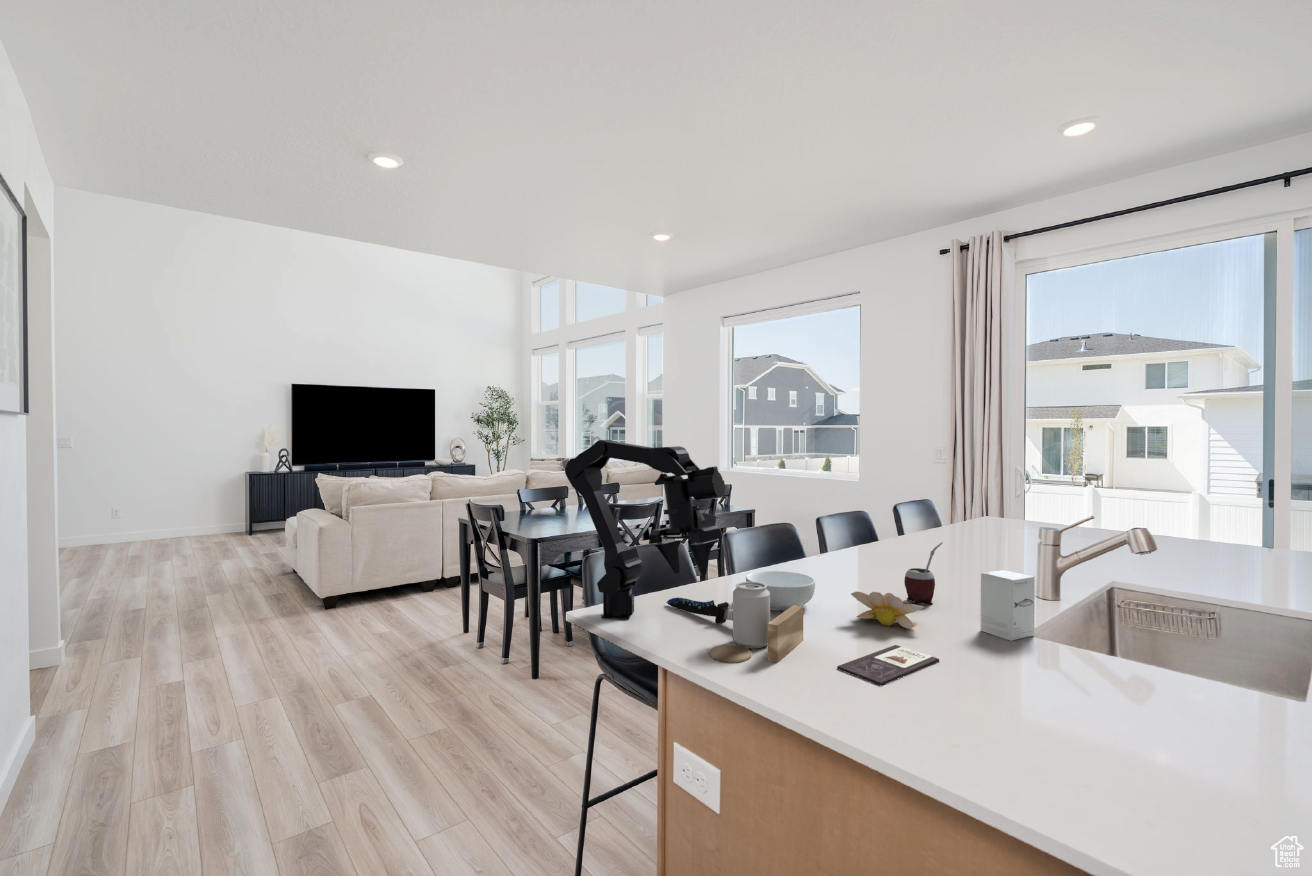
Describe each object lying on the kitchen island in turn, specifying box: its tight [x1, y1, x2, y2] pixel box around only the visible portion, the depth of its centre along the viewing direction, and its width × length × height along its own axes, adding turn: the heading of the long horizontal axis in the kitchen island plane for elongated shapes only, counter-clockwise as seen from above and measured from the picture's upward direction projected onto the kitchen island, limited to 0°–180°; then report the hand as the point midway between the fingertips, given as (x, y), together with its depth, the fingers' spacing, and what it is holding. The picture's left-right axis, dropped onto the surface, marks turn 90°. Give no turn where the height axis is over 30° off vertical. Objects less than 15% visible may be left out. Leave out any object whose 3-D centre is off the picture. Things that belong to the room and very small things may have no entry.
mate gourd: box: [904, 542, 943, 606], centre depth 150 cm, size 8×8×15 cm
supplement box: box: [980, 569, 1036, 642], centre depth 126 cm, size 7×7×13 cm
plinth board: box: [767, 605, 804, 664], centre depth 118 cm, size 2×14×7 cm, turn 147°
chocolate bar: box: [836, 644, 940, 686], centre depth 110 cm, size 9×1×18 cm
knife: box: [666, 597, 733, 625], centre depth 137 cm, size 31×3×4 cm, turn 37°
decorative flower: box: [850, 591, 925, 629], centre depth 133 cm, size 15×11×10 cm
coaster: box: [709, 644, 752, 664], centre depth 116 cm, size 8×8×1 cm
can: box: [732, 581, 771, 649], centre depth 121 cm, size 8×8×12 cm
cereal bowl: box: [745, 570, 816, 611], centre depth 147 cm, size 17×17×7 cm
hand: (690, 573), depth 131 cm, fingers open, 9 cm apart
